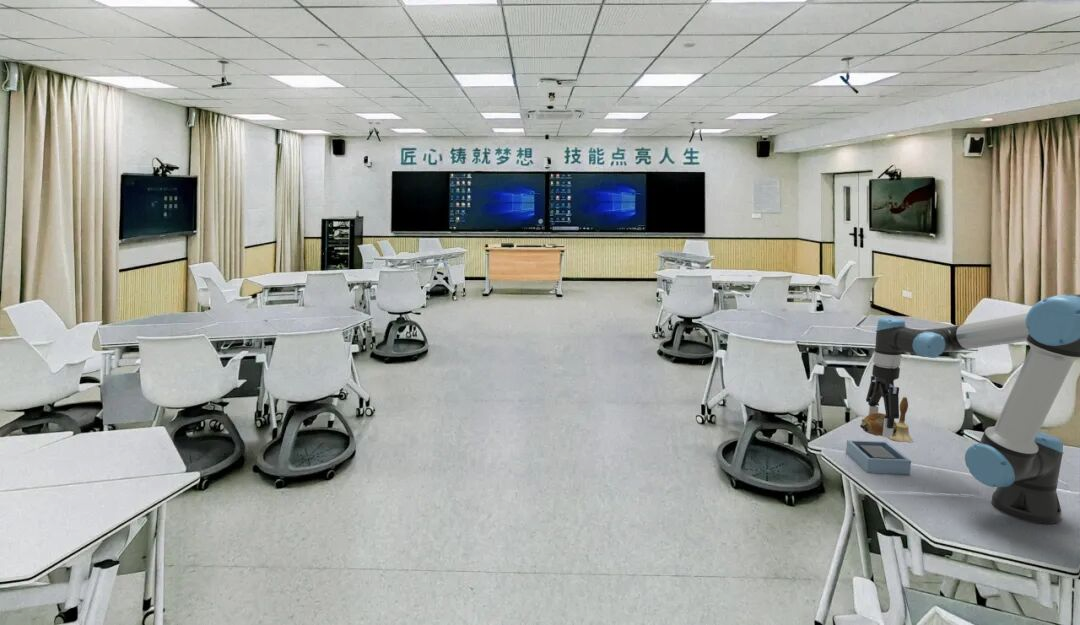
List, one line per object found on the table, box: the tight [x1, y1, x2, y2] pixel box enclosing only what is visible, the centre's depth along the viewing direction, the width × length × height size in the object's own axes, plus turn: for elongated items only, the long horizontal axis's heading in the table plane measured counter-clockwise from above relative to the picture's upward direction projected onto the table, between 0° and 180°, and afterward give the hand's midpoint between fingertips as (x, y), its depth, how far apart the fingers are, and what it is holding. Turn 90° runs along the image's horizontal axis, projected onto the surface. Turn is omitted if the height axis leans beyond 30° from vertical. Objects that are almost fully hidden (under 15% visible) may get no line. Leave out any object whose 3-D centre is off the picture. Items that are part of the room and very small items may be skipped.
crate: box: [845, 439, 912, 475], centre depth 193 cm, size 16×13×6 cm
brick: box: [860, 445, 896, 459], centre depth 193 cm, size 10×7×4 cm
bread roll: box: [859, 412, 897, 437], centre depth 191 cm, size 10×10×8 cm
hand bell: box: [887, 396, 914, 443], centre depth 216 cm, size 8×8×16 cm
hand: (879, 430), depth 192 cm, fingers closed on bread roll, 10 cm apart
